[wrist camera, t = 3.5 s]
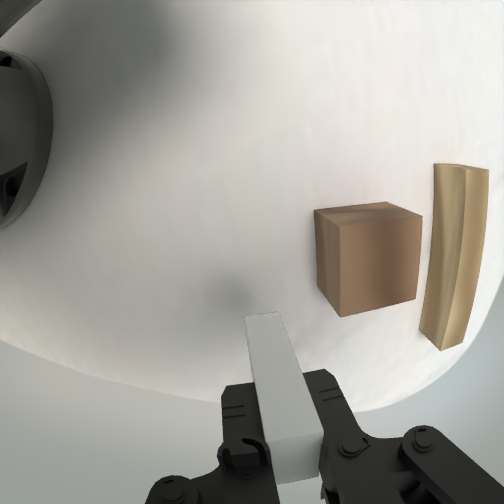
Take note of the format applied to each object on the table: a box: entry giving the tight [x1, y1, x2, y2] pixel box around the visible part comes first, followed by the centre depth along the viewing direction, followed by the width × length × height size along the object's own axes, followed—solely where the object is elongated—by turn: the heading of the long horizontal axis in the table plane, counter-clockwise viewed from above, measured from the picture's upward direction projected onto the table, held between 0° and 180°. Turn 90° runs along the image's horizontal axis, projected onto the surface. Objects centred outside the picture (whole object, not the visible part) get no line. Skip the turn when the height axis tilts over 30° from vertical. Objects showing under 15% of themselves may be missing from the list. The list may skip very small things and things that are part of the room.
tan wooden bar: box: [419, 164, 489, 351], centre depth 22 cm, size 3×16×4 cm, turn 6°
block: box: [314, 202, 423, 317], centre depth 20 cm, size 6×6×5 cm
